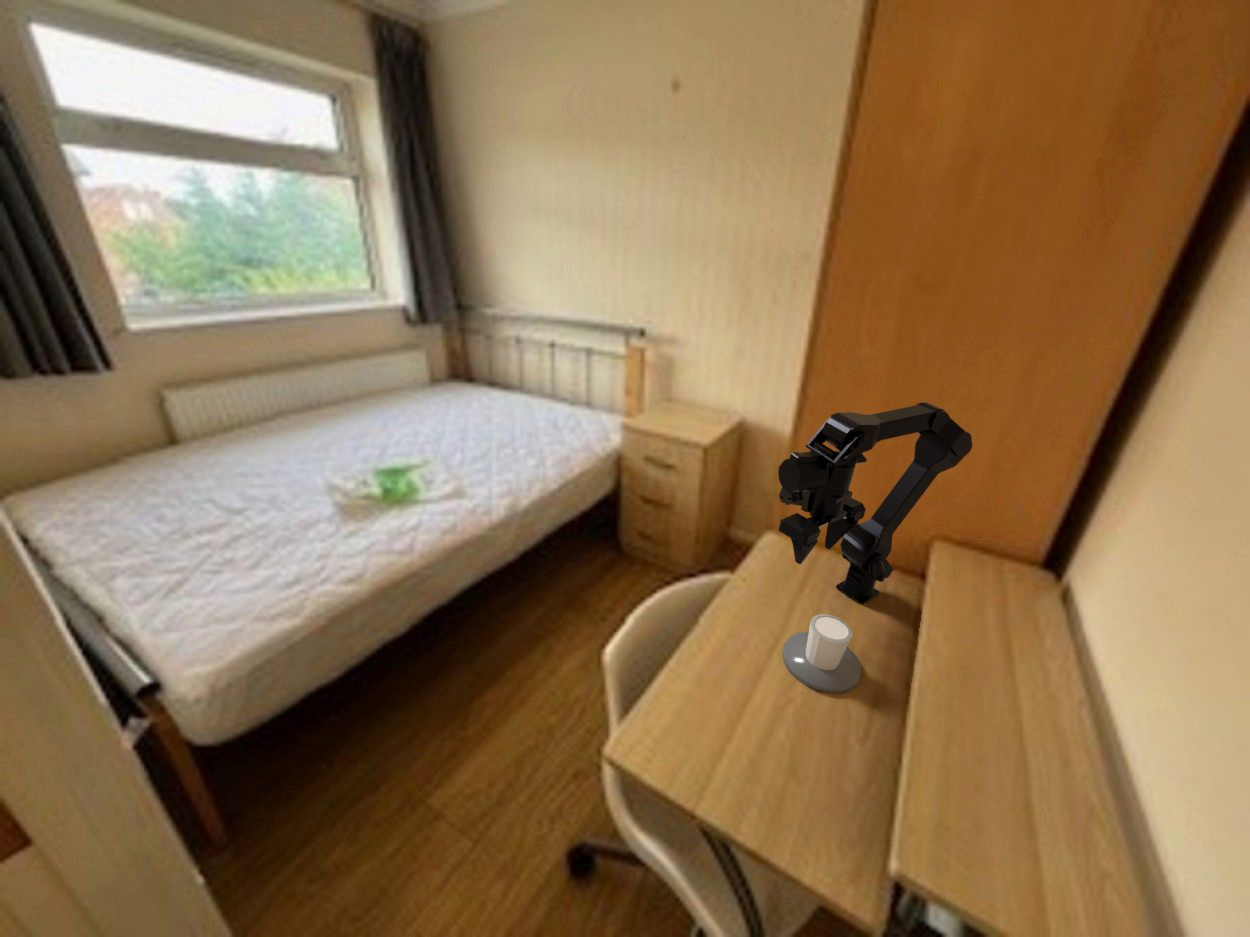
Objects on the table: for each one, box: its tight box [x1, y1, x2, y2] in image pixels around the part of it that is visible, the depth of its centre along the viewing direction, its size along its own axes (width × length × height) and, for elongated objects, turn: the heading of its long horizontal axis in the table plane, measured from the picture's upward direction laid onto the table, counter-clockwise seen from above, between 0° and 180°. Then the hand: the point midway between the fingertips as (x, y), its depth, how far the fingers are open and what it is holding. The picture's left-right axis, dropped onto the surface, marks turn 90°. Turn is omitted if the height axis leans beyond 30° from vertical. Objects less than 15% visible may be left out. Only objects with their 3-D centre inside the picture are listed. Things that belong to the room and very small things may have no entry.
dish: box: [782, 631, 862, 695], centre depth 96 cm, size 13×13×1 cm
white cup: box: [806, 613, 853, 670], centre depth 94 cm, size 7×7×7 cm
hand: (813, 555), depth 105 cm, fingers open, 9 cm apart
